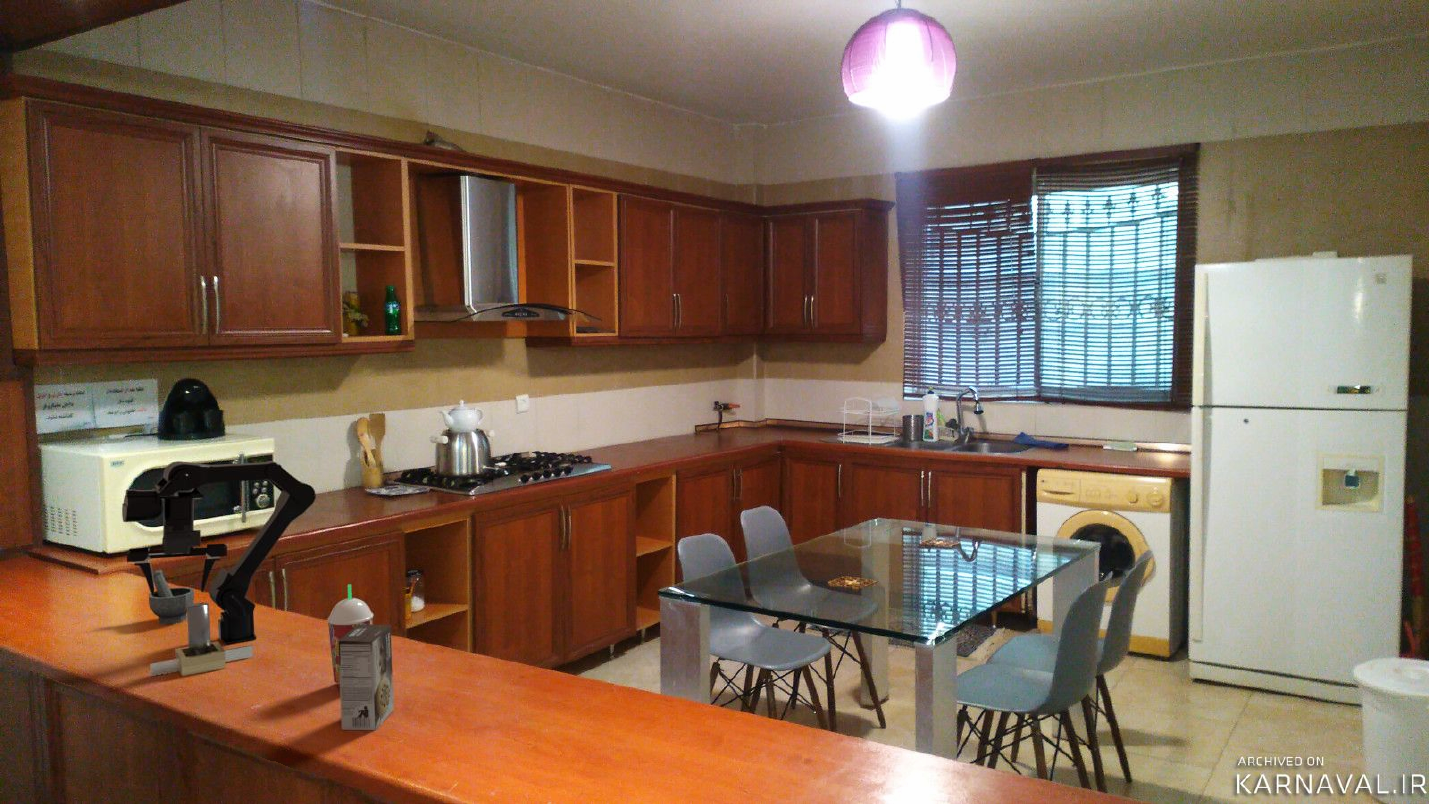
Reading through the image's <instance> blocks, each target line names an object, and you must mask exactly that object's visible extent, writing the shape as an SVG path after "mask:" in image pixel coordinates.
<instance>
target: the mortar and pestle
mask: <svg viewBox="0 0 1429 804" xmlns="http://www.w3.org/2000/svg"><path fill="white" fill-rule="evenodd" d="M152 573H153V581H154V588H155V590H154V596H152V594H151V592H150V593H149V594H148V604H149V608H150V610H151V611H152V614H154V615H155V616H157V617H158V625H162V626H169V625H176V623H177V624H180V623H181V622H182V623H184V622H185V621H184V620H186V619H187V606H188V605H190V604H194V602H195V601H194V600H195V591H194V588H193V587H192V588H191V587H183V586H181V587H170V586H169V585H168V583H167V581H166V579H165V577H164V575H163V574H164V571H163V570H162V569H157V570H154V571H152ZM183 621H184V622H183ZM186 621H187V620H186ZM182 623H181V624H182Z"/></svg>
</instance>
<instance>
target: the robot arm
mask: <svg viewBox="0 0 1429 804" xmlns="http://www.w3.org/2000/svg"><path fill="white" fill-rule="evenodd" d="M261 480H268V481H269V482H270V483H271V484H272V485H273V486H274V487H275V488H277V489H278V490H279V491H280V494H279V496H278V497H277V500H276V504H275V508H274V509H273V512H272V514H271V515H270V517H269V518H268V519H267V521H266V523H265V524H264V525H263V526H262V528H261V529H260V531H259V532H258V533H257V534H256V536H255V537H254V538H253V540H252V541H251V543H249V545H248V547H247V548H246V550H245V551H244V552H243V554H242V555H241V556H240V557H239V559H238V560H237V562H236V563H235V564H234V565H233V566H231V567H230V568H229V569H227V570H226V569H225V568H224V567H222V568H220V570H219V571H218V573H217V575H216V577H215V578H214V579H213V580H212V581H211V580H210V582H209V583H210V585H211V586H210V588H209V591H208V593H209V598H210V599H211V601H212V602H213V603H214V604H215V605H216V606H217V607H218V608H220V609H221V610H222V612H220V614H219V615H220V618H219V619H218V620H217V625H218V627H217V628H218V629H217V630H218V638H219V639H220V640H221V641H222V643H223V644H224V645H230V644H237V643H240V642H245V641H246V642H247V641H253V640H256V639H257V636H256V634H255V619H254V611H255V608H256V604H255V603H254V602H252V601H251V600H250V599H249V598H248V597H247V593H248V591H249V588H250V585H251V583H252V578H253V576H254V575H255V573H256V572H257V570H258V569H259V568H260V566H261V565H262V563H263V562H264V561H265V560H266V558H267V557H268V555H269V554H270V552H271V551H272V550H273V548H274V546H275V545H276V544H277V542H278V541H279V539H280V538H281V537H282V535H283V534H284V533H285V532H286V530H287V529H288V527H289V526H290V525H291V524H292V522H293V521H295V520H296V519H298V518H299V517H300V516H301V515H303V514H304V513H305V512H306V511H307V510H308V509H309V508H310V507H311V506H312V505H313V504H314V502H315V500H316V499H317V496H316V491H315V489H314V487H313V486H312V485H310V484H309V483H305V482H303V481H300V480H299V479H297V478H296V477H294V476H293V475H292V474H291V473H290V472H288V471H287V470H285V468H283V466H282V464H280V463H279V462H276V461H273V460H266V461H263V462H261V461H259V462H242V463H224V464H205V463H197V462H191V461H180V460H179V461H173V462H170V463H169V464H168V465H167V466H166V467H165V468H164V471H163V476H162V477H161V479H159V481H157V483H156V484H155V485H154V486H153V487H152V488H151V489H131V488H129V489H126V490H125V495H124V499H123V503H122V507H121V508H122V509H121V511H122V512H121V515H122V521H123V522H124V523H138V522H139V523H140V522H155V521H156V518H159V517H161V515H162V513H163V519H162V520H163V524H162V525H163V530H162V531H163V534H162V535H163V536H162V538H161V540H162V541H161V543H162V544H161V545H162V546H161V548H162V549H154V550H150V549H151V548H150V547H137V548H135V547H133V548H129V549H128V550H127V551H126V563H133V566H134V567H138V566H139V567H140V570H141V571H142V573H143V575H144V577H145V580H146V582H147V585H148V588H149V591H150V593H151V594H152V596H154V592H155V584H154V581H153V573H152V572H153V565H152V562H150V561H151V559H166V558H167V559H168V558H169V559H170V558H181V557H182V558H184V557H199V556H201V557H202V556H205V557H206V558H205V559H204V566H203V571H202V577H201V586H200V593H203V592H204V591H205V587H206V584H207V582H208V578H209V576H210V573H211V571H212V569H213V566H214V564H215V562H220V561H221V558H220V557H222V558H223V557H228V546H227V544H225V543H209V544H206V546H205V547H202V545H201V543H202V541H201V539H202V538H201V536H202V535H201V533H202V532H201V529H195V530H194V526H195V525H194V518H195V517H194V516H195V515H194V513H195V510H194V508H195V506H194V505H195V500H200V499H204V498H205V494H203V493H202V492H201V491H199V490H198V488H201V487H205V486H208V485H211V484H215V483H216V484H217V483H229V482H230V483H233V482H245V481H261ZM189 490H190V491H189ZM173 495H174V496H173ZM162 501H163V502H162ZM162 503H163V505H162ZM162 510H163V512H162Z"/></svg>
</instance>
